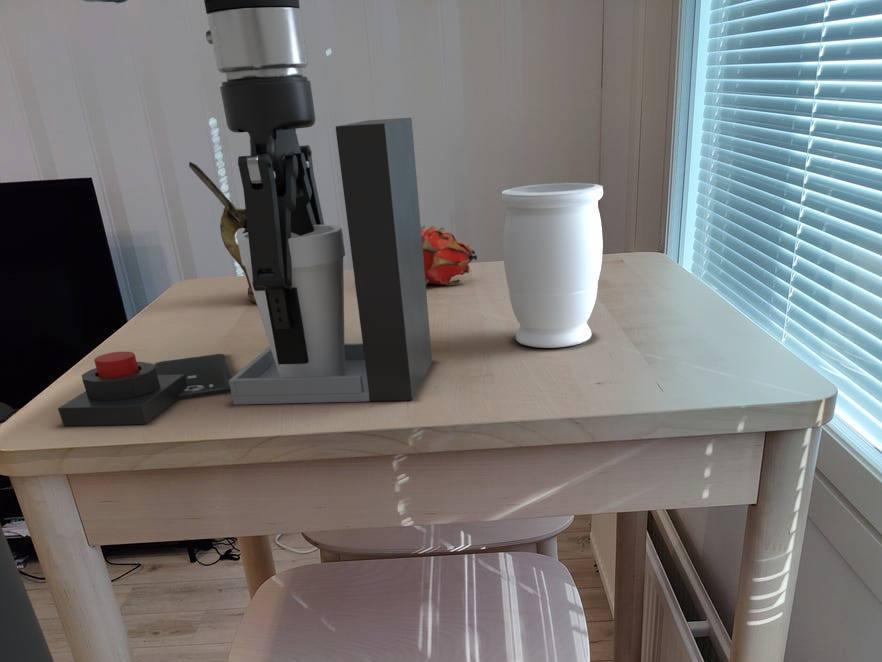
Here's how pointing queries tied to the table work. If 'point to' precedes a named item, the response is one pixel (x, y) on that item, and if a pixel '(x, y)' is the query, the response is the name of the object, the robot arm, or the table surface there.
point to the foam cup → (312, 299)
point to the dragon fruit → (444, 256)
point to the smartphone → (199, 374)
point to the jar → (553, 260)
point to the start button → (116, 364)
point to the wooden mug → (228, 222)
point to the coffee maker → (369, 280)
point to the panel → (122, 398)
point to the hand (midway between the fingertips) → (308, 348)
